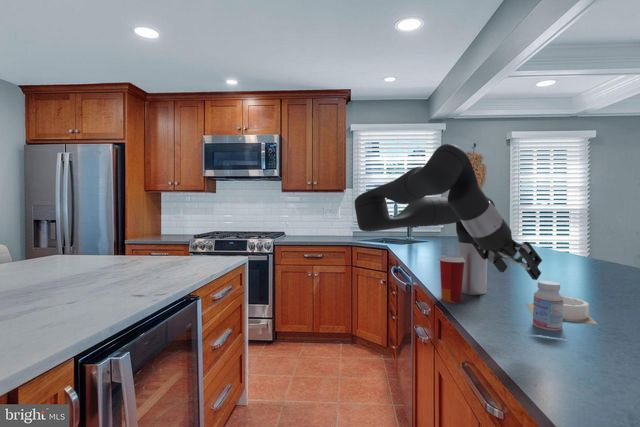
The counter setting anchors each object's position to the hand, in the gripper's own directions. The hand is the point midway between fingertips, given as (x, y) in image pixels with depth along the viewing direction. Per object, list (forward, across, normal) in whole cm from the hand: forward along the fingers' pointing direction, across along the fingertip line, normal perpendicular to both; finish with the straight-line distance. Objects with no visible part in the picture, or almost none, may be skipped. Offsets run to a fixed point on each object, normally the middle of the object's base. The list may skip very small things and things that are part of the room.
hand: (519, 273), depth 81 cm
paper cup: (+14, -28, -6) cm, 32 cm away
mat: (+27, -7, +7) cm, 28 cm away
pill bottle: (+18, 0, -3) cm, 18 cm away
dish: (+27, -6, +8) cm, 29 cm away
